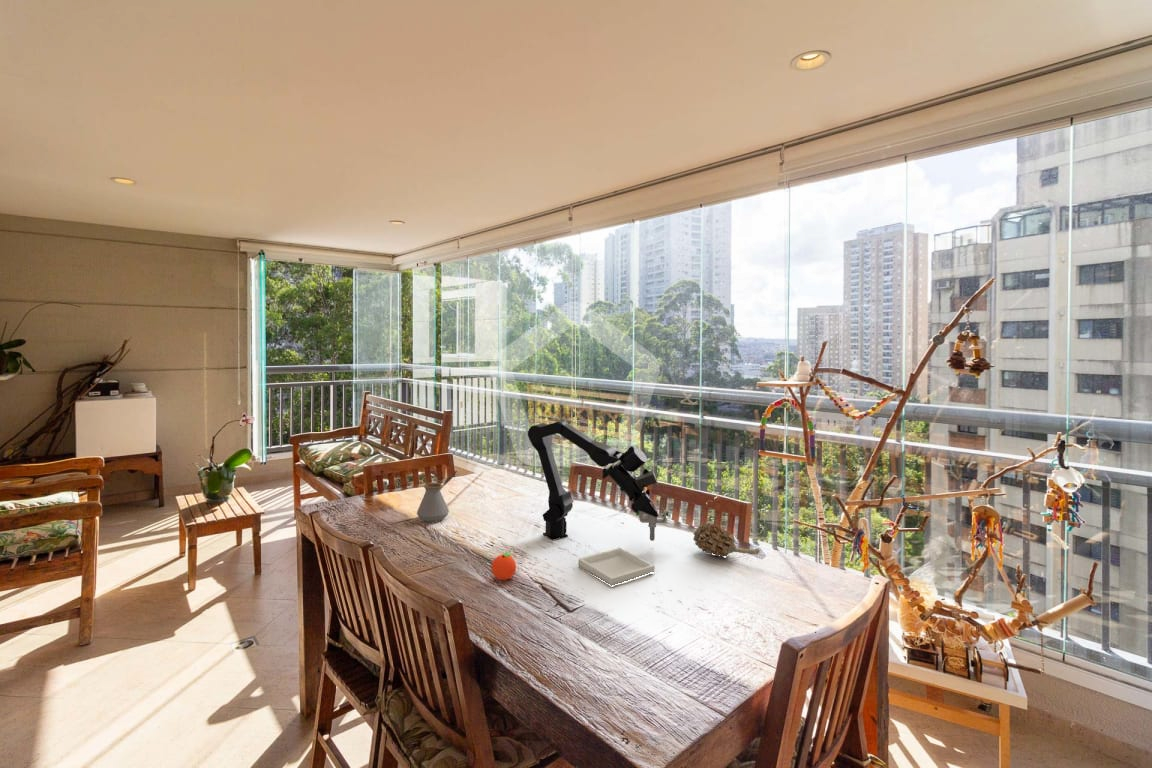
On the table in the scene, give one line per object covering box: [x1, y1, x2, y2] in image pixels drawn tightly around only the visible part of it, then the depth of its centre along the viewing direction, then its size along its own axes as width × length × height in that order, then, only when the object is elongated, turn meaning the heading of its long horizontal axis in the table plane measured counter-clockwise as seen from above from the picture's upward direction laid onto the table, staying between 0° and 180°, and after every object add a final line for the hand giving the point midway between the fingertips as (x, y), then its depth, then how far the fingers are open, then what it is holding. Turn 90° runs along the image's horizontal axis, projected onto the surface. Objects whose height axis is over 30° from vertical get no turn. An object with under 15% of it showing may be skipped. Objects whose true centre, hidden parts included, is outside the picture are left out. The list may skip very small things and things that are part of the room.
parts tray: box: [577, 547, 655, 586], centre depth 166 cm, size 16×16×2 cm
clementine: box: [491, 553, 517, 581], centre depth 159 cm, size 8×7×7 cm
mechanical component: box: [635, 508, 670, 542], centre depth 182 cm, size 3×10×10 cm, turn 86°
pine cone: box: [693, 522, 761, 557], centre depth 176 cm, size 22×10×10 cm, turn 56°
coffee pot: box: [416, 470, 460, 523], centre depth 211 cm, size 21×12×15 cm, turn 157°
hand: (657, 514), depth 181 cm, fingers closed on mechanical component, 3 cm apart
